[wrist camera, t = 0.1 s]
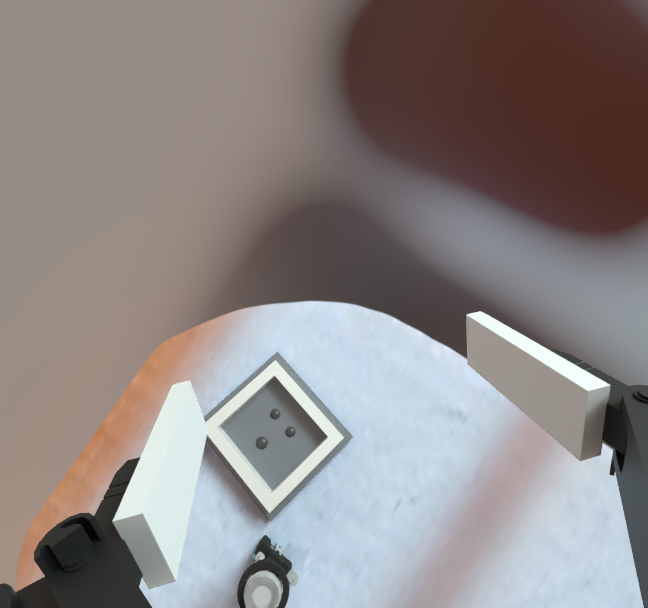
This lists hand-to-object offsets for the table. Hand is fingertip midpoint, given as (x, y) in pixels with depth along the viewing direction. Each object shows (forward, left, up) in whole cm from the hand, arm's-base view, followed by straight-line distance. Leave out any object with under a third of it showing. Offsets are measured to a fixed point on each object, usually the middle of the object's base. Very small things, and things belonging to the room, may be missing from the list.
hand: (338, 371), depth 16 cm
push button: (-11, +18, -36) cm, 42 cm away
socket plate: (+1, +8, -36) cm, 37 cm away
